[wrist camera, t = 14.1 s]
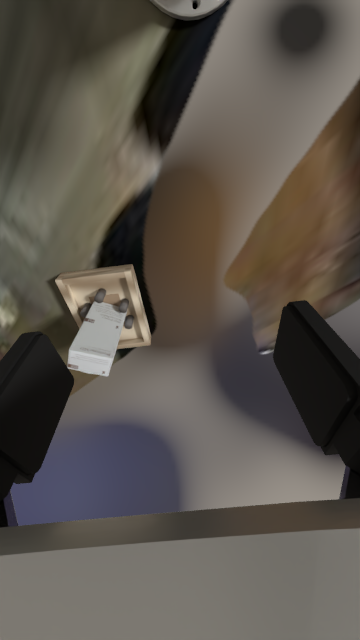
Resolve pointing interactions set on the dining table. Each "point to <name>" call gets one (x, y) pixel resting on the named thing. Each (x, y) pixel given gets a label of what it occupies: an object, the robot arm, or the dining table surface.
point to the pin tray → (108, 299)
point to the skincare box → (97, 340)
